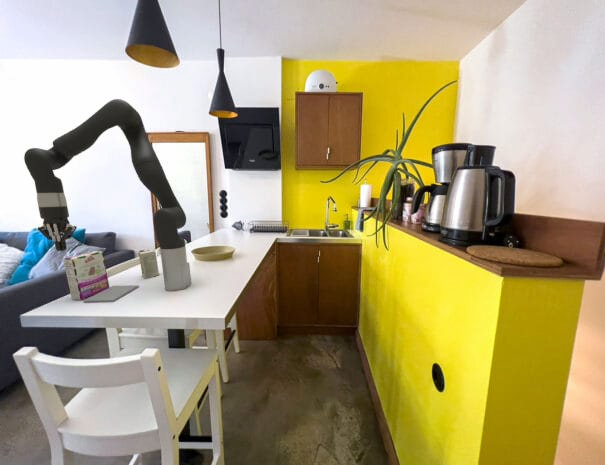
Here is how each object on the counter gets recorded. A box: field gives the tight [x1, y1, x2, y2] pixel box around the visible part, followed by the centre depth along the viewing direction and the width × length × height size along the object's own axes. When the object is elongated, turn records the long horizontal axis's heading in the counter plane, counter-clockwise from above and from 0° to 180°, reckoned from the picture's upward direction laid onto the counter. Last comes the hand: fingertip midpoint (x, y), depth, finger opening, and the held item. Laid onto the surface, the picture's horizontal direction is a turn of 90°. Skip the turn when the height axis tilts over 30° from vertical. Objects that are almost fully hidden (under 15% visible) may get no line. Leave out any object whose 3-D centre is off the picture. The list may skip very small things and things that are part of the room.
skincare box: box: [138, 249, 160, 279], centre depth 113 cm, size 6×4×12 cm
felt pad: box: [82, 284, 140, 304], centre depth 94 cm, size 11×14×1 cm
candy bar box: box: [62, 250, 110, 301], centre depth 93 cm, size 11×5×16 cm, turn 169°
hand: (61, 250), depth 91 cm, fingers closed
